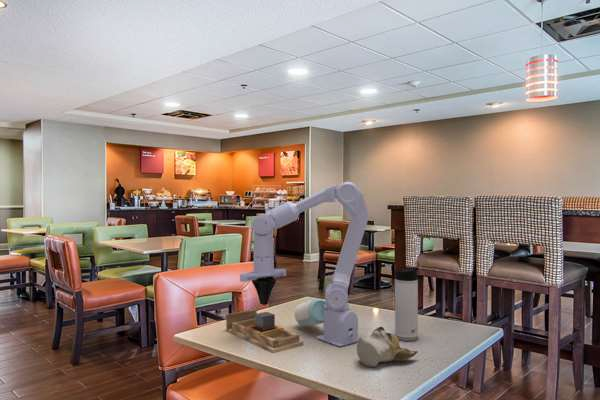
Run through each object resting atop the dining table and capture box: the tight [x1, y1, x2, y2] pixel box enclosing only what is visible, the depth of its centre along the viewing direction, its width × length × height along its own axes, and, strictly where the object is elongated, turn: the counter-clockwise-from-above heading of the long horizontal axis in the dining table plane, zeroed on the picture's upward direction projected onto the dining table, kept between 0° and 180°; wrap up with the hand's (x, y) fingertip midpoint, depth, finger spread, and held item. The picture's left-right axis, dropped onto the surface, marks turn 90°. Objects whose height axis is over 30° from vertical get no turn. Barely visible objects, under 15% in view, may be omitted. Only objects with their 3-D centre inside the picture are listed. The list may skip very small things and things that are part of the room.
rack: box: [225, 308, 304, 354], centre depth 123 cm, size 24×10×5 cm, turn 39°
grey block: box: [255, 311, 276, 332], centre depth 122 cm, size 4×4×6 cm
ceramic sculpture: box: [356, 326, 418, 368], centre depth 105 cm, size 11×9×15 cm
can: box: [294, 298, 326, 327], centre depth 129 cm, size 7×7×12 cm
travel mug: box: [394, 266, 420, 342], centre depth 122 cm, size 6×7×20 cm
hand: (263, 304), depth 123 cm, fingers closed
